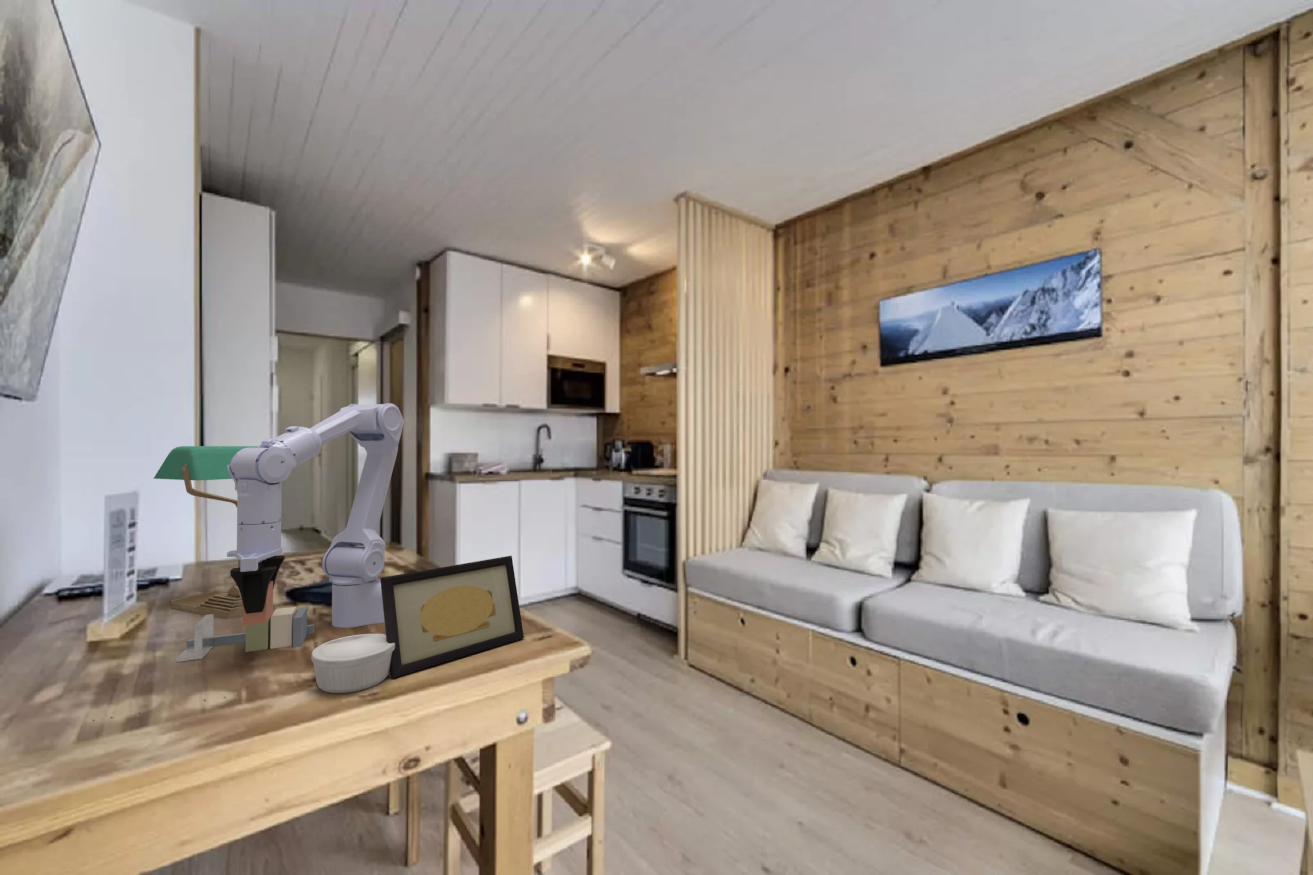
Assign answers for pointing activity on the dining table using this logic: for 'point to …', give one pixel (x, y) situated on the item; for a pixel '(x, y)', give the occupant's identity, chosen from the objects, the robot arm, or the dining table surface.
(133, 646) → the dining table surface
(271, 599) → the rust book
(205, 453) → the banker's lamp
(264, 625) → the olive block
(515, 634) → the picture frame
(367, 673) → the ramekin
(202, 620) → the bookend
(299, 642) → the shelf
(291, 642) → the cream book
